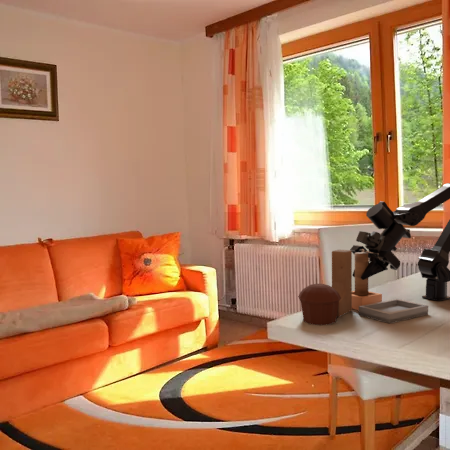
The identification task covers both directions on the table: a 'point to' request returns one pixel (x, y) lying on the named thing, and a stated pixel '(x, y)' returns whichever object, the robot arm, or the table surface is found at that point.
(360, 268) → the dowel pin
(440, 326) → the table surface
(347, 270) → the wooden block
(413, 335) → the table surface
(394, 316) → the tray
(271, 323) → the table surface
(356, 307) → the orange square ring
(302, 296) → the muffin
